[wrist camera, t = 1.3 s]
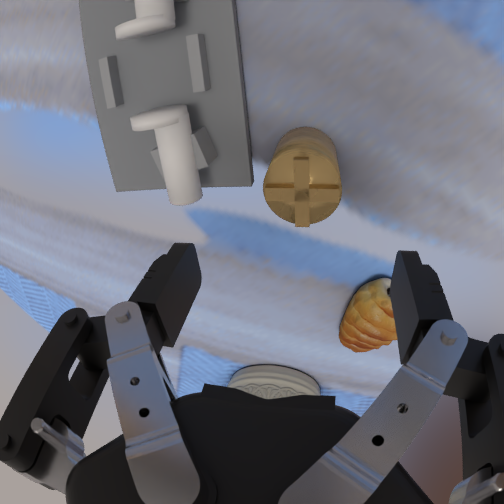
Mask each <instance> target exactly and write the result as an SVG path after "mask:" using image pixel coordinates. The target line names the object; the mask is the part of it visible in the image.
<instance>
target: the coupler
mask: <svg viewBox="0 0 504 504" xmlns="http://www.w3.org/2000/svg"><path fill="white" fill-rule="evenodd" d="M263 192H264V196H265V200H266V202H267V204H268V205H269V207H270V208H271V210H272V211H273V212H274V213H275V214H276V215H278V216H279V217H280V218H282V219H284V220H286V221H288V222H291V223H295V227H309V226H310V224H313V223H317V222H319V221H322V220H324V219H326V218H327V217H329V216H330V215H331V214H332V213H333V212H334V211H335V210H336V208H337V207H338V205H339V202H340V200H341V196H342V185H341V178H340V172H339V165H338V159H337V154H336V149H335V146H334V144H333V142H332V140H331V139H330V138H329V137H328V136H327V135H326V134H325V133H323V132H322V131H320V130H318V129H315V128H311V127H299V128H295V129H292V130H290V131H289V132H287V133H286V134H285V135H284V136H283V137H282V138H281V139H280V141H279V143H278V145H277V148H276V150H275V153H274V155H273V158H272V160H271V163H270V165H269V168H268V170H267V173H266V176H265V178H264V183H263Z"/></svg>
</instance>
